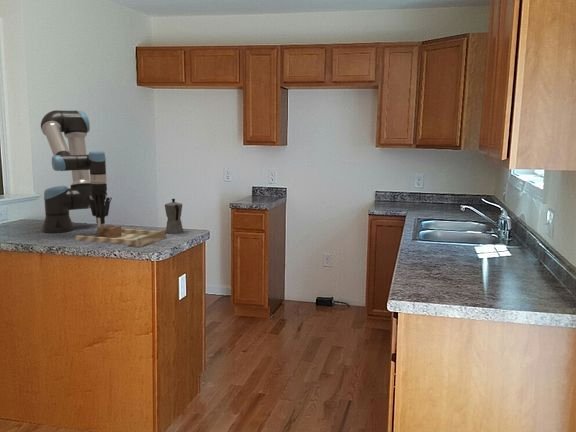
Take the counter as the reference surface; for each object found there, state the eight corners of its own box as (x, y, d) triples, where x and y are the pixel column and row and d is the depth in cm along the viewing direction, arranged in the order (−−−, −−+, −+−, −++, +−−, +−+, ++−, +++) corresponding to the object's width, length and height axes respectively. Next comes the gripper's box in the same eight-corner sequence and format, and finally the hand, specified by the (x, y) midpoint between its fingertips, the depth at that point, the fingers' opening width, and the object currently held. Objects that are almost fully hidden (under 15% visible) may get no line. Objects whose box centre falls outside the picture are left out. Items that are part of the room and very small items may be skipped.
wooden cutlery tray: (75, 242, 256) (74, 233, 256) (105, 233, 278) (104, 225, 278) (140, 247, 246) (140, 238, 245) (166, 237, 268) (166, 229, 267)
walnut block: (97, 237, 261) (97, 227, 261) (107, 234, 269) (107, 225, 268) (111, 238, 259) (111, 228, 258) (121, 235, 267) (121, 226, 266)
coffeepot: (162, 230, 285) (161, 197, 282) (180, 229, 289) (179, 196, 286) (169, 236, 271) (168, 201, 268) (187, 234, 275) (186, 200, 272)
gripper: (82, 183, 259) (85, 230, 263) (105, 184, 255) (107, 232, 259) (92, 181, 266) (94, 228, 270) (114, 182, 263) (116, 229, 266)
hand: (101, 230), depth 265 cm, fingers closed
